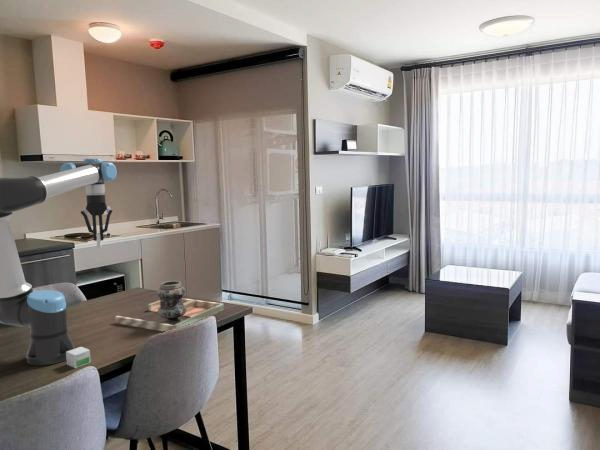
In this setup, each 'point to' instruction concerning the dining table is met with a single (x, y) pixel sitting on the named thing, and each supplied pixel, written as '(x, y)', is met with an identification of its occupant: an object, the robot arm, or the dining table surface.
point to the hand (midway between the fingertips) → (99, 247)
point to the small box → (78, 357)
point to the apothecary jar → (171, 302)
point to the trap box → (194, 311)
